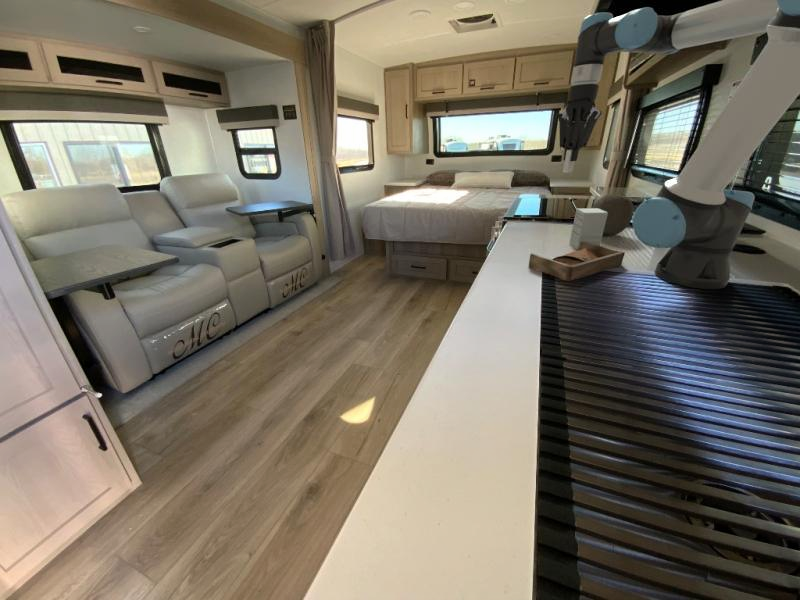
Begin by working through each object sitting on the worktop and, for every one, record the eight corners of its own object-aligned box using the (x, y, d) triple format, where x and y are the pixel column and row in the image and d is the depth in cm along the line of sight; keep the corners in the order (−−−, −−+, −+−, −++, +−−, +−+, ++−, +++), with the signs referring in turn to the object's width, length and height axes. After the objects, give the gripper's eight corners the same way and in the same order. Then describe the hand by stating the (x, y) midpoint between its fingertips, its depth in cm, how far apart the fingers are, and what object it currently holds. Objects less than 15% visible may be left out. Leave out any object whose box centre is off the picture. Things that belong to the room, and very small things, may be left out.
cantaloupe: (634, 240, 120) (647, 198, 114) (592, 239, 122) (603, 197, 116) (617, 230, 133) (628, 191, 126) (580, 229, 135) (588, 191, 128)
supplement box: (590, 244, 118) (598, 207, 112) (599, 250, 111) (609, 212, 105) (568, 243, 118) (576, 207, 113) (576, 250, 112) (584, 212, 106)
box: (621, 265, 98) (625, 252, 96) (568, 281, 88) (571, 267, 86) (579, 253, 109) (582, 241, 107) (528, 266, 99) (530, 253, 97)
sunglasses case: (575, 276, 91) (568, 253, 91) (553, 281, 97) (546, 260, 97) (608, 263, 100) (601, 242, 100) (585, 268, 106) (579, 248, 106)
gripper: (556, 86, 98) (542, 171, 109) (598, 80, 88) (578, 174, 98) (572, 88, 101) (557, 170, 112) (614, 82, 91) (594, 173, 102)
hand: (567, 172), depth 105 cm, fingers closed
